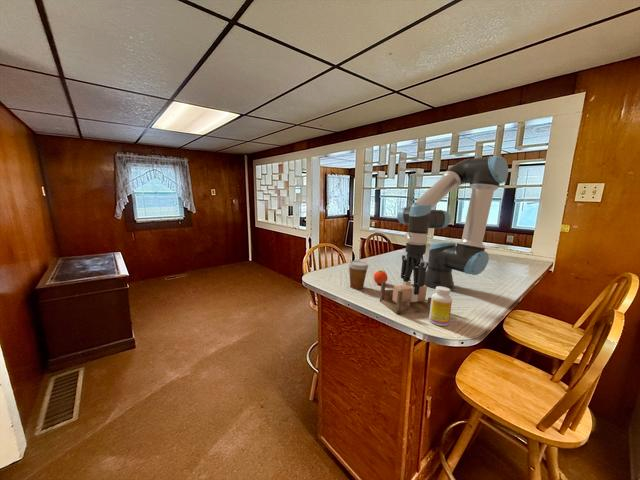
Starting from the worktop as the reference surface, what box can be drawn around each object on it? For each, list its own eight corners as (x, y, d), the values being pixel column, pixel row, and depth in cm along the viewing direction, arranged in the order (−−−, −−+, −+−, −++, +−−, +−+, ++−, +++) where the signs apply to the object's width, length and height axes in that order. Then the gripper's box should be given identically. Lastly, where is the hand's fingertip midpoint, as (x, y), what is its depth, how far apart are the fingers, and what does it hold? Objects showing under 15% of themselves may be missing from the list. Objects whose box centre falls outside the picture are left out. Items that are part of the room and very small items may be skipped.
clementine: (377, 280, 140) (379, 267, 139) (390, 283, 136) (391, 270, 135) (370, 283, 134) (371, 270, 133) (383, 287, 130) (384, 273, 129)
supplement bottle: (451, 328, 90) (456, 292, 88) (431, 325, 92) (435, 290, 89) (445, 319, 97) (450, 286, 95) (426, 317, 98) (430, 284, 96)
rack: (419, 298, 117) (421, 278, 116) (440, 310, 105) (443, 289, 103) (379, 301, 111) (381, 281, 109) (397, 314, 99) (399, 292, 97)
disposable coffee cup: (367, 285, 131) (369, 262, 129) (365, 291, 122) (367, 266, 120) (348, 282, 133) (350, 260, 131) (345, 288, 124) (347, 264, 122)
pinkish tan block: (417, 296, 112) (419, 283, 111) (425, 300, 108) (426, 286, 107) (392, 300, 106) (393, 285, 105) (399, 303, 102) (400, 289, 101)
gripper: (395, 239, 111) (390, 292, 114) (423, 247, 94) (415, 308, 98) (410, 239, 113) (404, 291, 117) (440, 247, 97) (432, 307, 100)
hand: (409, 298), depth 107 cm, fingers closed on pinkish tan block, 4 cm apart
